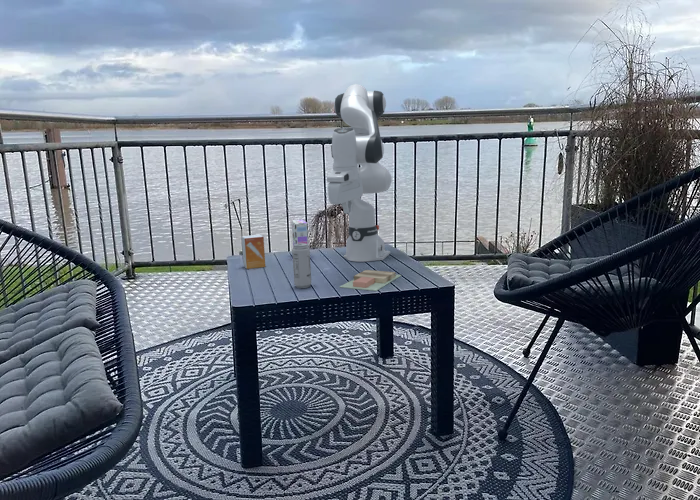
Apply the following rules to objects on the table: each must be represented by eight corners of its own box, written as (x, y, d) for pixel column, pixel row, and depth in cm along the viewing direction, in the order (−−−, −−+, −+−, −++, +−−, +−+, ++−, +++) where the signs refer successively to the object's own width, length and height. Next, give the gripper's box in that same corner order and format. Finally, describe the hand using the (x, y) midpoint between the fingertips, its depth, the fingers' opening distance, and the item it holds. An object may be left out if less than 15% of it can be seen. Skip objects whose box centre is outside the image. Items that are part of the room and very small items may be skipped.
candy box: (310, 260, 226) (308, 222, 223) (296, 261, 225) (294, 223, 222) (305, 254, 239) (303, 218, 236) (293, 255, 238) (291, 219, 235)
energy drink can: (312, 287, 180) (309, 245, 178) (294, 289, 180) (292, 246, 177) (310, 283, 186) (308, 242, 183) (294, 284, 185) (291, 243, 183)
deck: (366, 274, 195) (366, 269, 195) (395, 277, 190) (395, 272, 189) (354, 281, 187) (353, 276, 186) (384, 284, 181) (384, 278, 181)
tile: (362, 281, 185) (361, 276, 184) (374, 282, 182) (374, 277, 182) (353, 286, 179) (352, 281, 178) (366, 287, 176) (365, 282, 176)
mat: (367, 272, 198) (367, 272, 198) (401, 275, 192) (401, 275, 192) (339, 287, 179) (339, 286, 179) (376, 291, 173) (376, 290, 173)
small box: (246, 269, 213) (244, 238, 211) (243, 266, 219) (241, 236, 216) (266, 267, 216) (263, 236, 214) (262, 264, 222) (260, 234, 219)
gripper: (351, 171, 195) (352, 208, 198) (324, 177, 177) (326, 217, 180) (366, 171, 192) (367, 208, 195) (340, 177, 174) (342, 218, 178)
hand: (347, 213), depth 188 cm, fingers closed
